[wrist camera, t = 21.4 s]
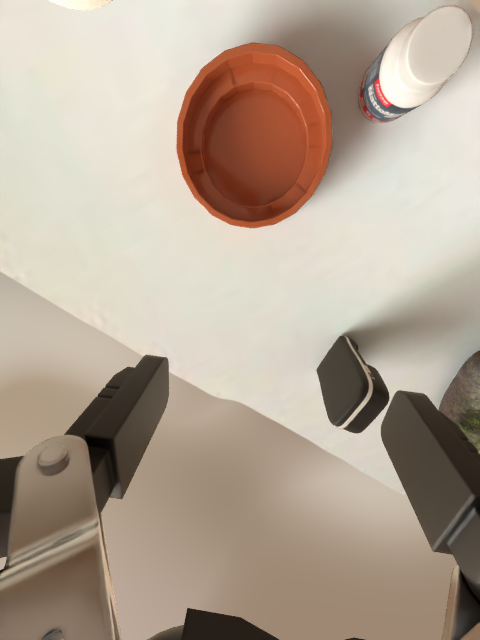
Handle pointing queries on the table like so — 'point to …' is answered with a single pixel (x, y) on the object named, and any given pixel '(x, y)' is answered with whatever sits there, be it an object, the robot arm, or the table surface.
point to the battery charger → (350, 387)
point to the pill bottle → (415, 64)
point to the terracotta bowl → (254, 135)
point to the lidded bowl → (82, 4)
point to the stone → (465, 400)
